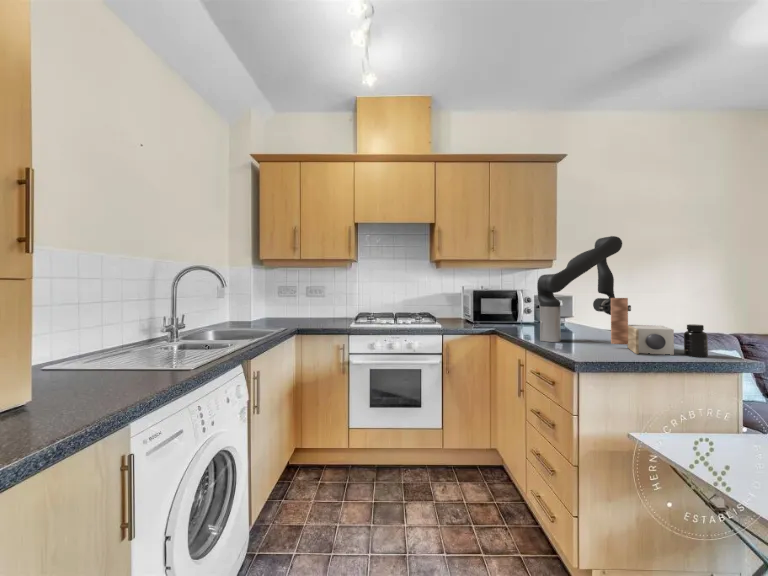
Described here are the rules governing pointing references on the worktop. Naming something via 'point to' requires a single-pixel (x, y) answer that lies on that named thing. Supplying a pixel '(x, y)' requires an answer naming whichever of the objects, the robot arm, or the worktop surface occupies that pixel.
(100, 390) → the worktop surface
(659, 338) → the housing
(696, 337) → the supplement bottle
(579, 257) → the robot arm
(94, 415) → the worktop surface
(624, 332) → the wooden block
